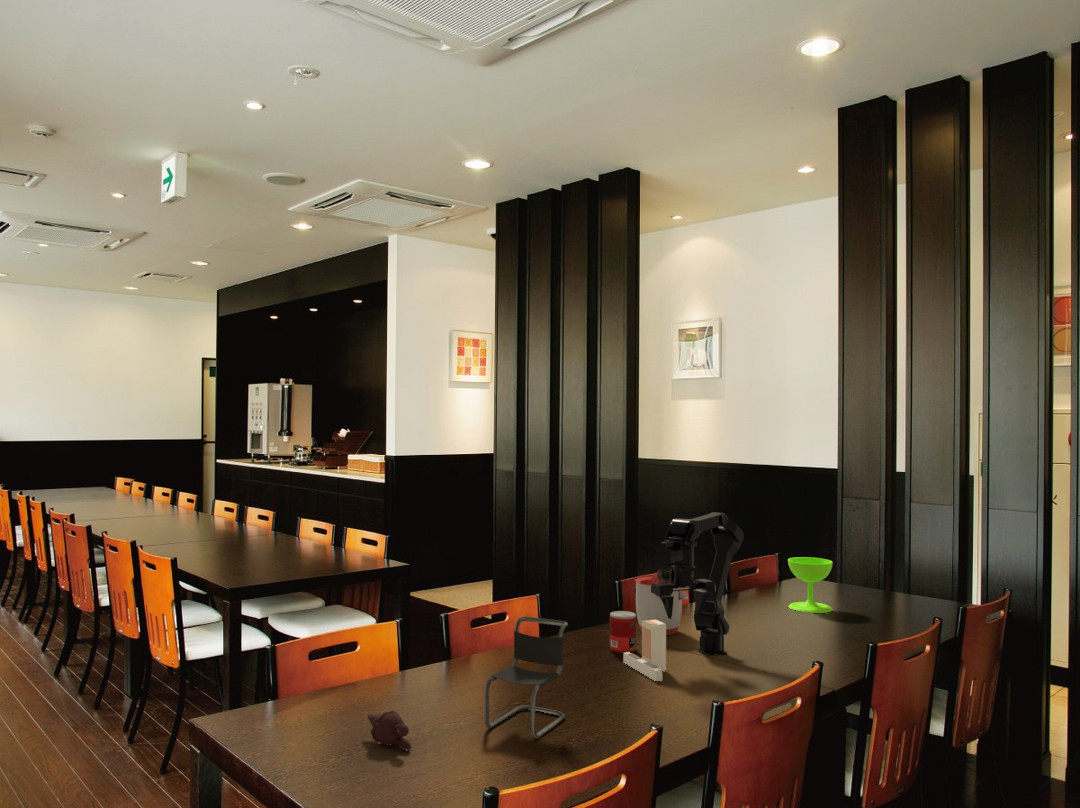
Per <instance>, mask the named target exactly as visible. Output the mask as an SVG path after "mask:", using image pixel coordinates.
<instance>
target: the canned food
mask: <svg viewBox="0 0 1080 808" xmlns="http://www.w3.org/2000/svg"><path fill="white" fill-rule="evenodd" d="M609 649H610V651H611V650H612V651H611V652H613V651H615V652H614V653H616V652H621V653H620V654H624V653H626V652H633V653H634V651H636V649H637V613H635V612H632V611H627V610H617V611H612V612H610V614H609Z"/></svg>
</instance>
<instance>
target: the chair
mask: <svg viewBox="0 0 1080 808" xmlns="http://www.w3.org/2000/svg"><path fill="white" fill-rule="evenodd" d="M522 622H530V623H537V624H544V625H552V626H559V630H558V637H540V636H534V635H528V634H526V633H522V632H520V625H521V623H522ZM568 626H569V624H568V622H567V621H564V620H557V619H556V620H555V619H549V618H548V619H547V618H540V617H533V616H526V615H525V616H520V617H518V618H517V620H516V621H515V624H514V629H513V661H512V663H511V664H510V665H509V666H507V667H505V668H503V669H502V670H499V671H498V672H496V673H494V674H492V675H490V676H489V677H488V679H486V682H485V685H484V692H483V693H484V694H483V695H484V696H483V697H484V698H483V699H484V700H483V701H484V704H483V705H484V708H483V710H484V711H483V714H484V715H483V716H484V717H483V719H484V720H483V721H484V725H485V727H487V729H493V728H495V727H496V726H498V725H499V723H500V722H501V723H503V722H504V721H506V720H507V719H509V718H510V716H511V715H512V716H514V715H515V714H517V713H518V711H519V712H521V711H520V710H522V711H524V710H523V709H528V710H527V711H530V718H529V719H530V723H529V725H530V727H529V728H530V734H531V736H532V738H534V739H539V738H541V737H542V736H544V735H546V733H548V732H549V731H550V730H552V729H553V728H554V727H556V726H557V725H558V724H560V723H561V722H563V721H565V718H566V716H565V714H564V713H563V712H562V711H559V710H555V709H550V708H546V707H545V708H544V707H540V706H536V698H537V693H538V691H539V690H541V689H542V688H544V687H545V686H547V685H549V684H550V683H552V682H554V681H555V680H557V679H558V678H559V677H560V676H561V674H562V671H563V667H564V632H565V629H566V628H567V627H568ZM519 660H520V661H524V662H528V663H532V664H533V663H534V664H539V665H544V666H557V669H556V672H540V671H534V670H530V669H525V668H521V667H518V666H517V665H518V663H519ZM495 680H502V681H504V682H508V683H514V684H518V685H529V686H530V685H533V686H534V687H533V688H532V690H531V693H530V705H528V704H527V705H526V704H525V705H524V704H523V705H520V706H519V705H518V706H517V707H515V708H513V709H512V710H510V711H508V712H507V713H505V714H503V715H501V716H500V717H498V718H496V719H495V720H494V721H492V722H490V689H491V688H490V687H491V684H492V682H494V681H495ZM536 711H540V712H539V713H541V712H544V713H543V714H546V713H549V714H548V715H551V714H554V715H553V716H556V715H558V716H557V718H556V719H555V720H553V721H552V722H550V723H548V725H546V726H544V727H543V728H542V729H540V730H539V731H537V732H536ZM516 712H517V713H516ZM513 714H514V715H513ZM512 716H511V717H512ZM508 717H509V718H508ZM505 719H506V720H505ZM503 720H504V721H503ZM502 721H503V722H502ZM501 723H500V724H501ZM497 724H498V725H497ZM495 725H496V726H495ZM494 726H495V727H494ZM492 727H493V728H492Z"/></svg>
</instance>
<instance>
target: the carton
mask: <svg viewBox="0 0 1080 808" xmlns="http://www.w3.org/2000/svg"><path fill="white" fill-rule="evenodd" d="M641 658H642V659H643V660H645V661H647V662H649V663H651V664H653V665H655V666H657V667H658V668H660V669H662V671H663V672H666V671H667V636H666V624H665V623H663V622H660V621H658V620H645V621H642V631H641ZM665 670H666V671H665Z"/></svg>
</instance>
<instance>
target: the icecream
mask: <svg viewBox="0 0 1080 808" xmlns="http://www.w3.org/2000/svg"><path fill="white" fill-rule="evenodd" d="M367 719H368V721H369V723H370V725H371V727H372V729H371V730H370V734H371V736H372V740H374V741H375V742H376V743H377V742H380V743H382V744H381V745H384V744H386V746H391V745H390V744H394V745H396V744H398V746H399V747H400V746H401V747H402V748H404V749H407V750H409V749H411V750H412V744H411V743H410V741H409V740H408V739H406V738H405V736H408V735H409V731H410V728H409V727H408V726H407V725H406V724H405V722H404V720H403V719H402V716H400V713H397V712H396V710H389V711H384V712H382V714H381V713H380V714H379V713H378V714H367ZM387 744H388V745H387ZM401 747H400V748H401ZM402 748H401V749H402Z"/></svg>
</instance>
